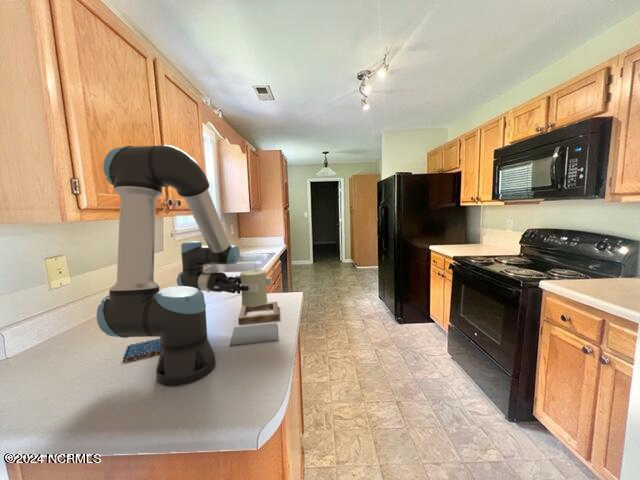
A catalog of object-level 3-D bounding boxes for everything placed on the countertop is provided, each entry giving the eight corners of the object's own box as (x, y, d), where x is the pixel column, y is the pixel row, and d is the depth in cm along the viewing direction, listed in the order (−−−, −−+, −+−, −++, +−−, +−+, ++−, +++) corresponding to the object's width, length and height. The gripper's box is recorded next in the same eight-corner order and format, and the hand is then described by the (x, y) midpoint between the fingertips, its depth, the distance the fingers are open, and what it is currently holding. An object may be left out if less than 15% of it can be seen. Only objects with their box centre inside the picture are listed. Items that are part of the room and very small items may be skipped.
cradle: (238, 323, 107) (238, 318, 107) (242, 309, 123) (242, 304, 123) (278, 319, 110) (278, 314, 110) (277, 306, 126) (277, 301, 126)
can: (270, 299, 103) (269, 268, 102) (263, 307, 94) (261, 273, 93) (247, 299, 104) (245, 268, 103) (237, 307, 95) (235, 273, 94)
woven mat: (163, 355, 86) (162, 349, 85) (122, 364, 81) (122, 358, 80) (164, 341, 95) (164, 336, 95) (128, 349, 90) (127, 344, 90)
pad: (229, 346, 89) (229, 344, 89) (234, 328, 102) (234, 327, 102) (278, 340, 92) (278, 339, 92) (276, 324, 105) (276, 323, 105)
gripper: (231, 284, 114) (279, 287, 107) (193, 299, 94) (248, 304, 87) (230, 266, 114) (278, 268, 107) (191, 278, 93) (247, 282, 86)
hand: (264, 285), depth 97 cm, fingers closed on can, 9 cm apart
